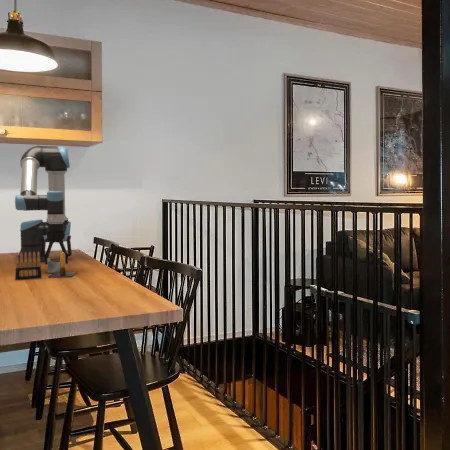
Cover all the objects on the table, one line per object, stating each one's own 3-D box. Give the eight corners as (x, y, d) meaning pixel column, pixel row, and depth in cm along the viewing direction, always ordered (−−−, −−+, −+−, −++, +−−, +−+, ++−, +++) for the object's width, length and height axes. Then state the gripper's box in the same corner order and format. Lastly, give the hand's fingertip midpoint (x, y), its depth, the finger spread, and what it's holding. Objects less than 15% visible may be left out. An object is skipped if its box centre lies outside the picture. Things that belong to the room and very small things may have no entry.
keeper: (54, 273, 224) (54, 250, 223) (76, 273, 225) (76, 250, 224) (48, 277, 212) (47, 253, 211) (71, 277, 213) (70, 253, 212)
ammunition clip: (15, 279, 207) (14, 252, 206) (15, 279, 209) (14, 252, 208) (41, 277, 212) (40, 251, 211) (41, 277, 213) (40, 250, 213)
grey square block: (51, 270, 231) (51, 260, 230) (65, 270, 231) (65, 260, 231) (48, 272, 224) (48, 262, 224) (62, 272, 225) (62, 262, 225)
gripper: (32, 223, 221) (33, 272, 223) (75, 223, 224) (76, 271, 225) (36, 222, 229) (38, 270, 230) (78, 222, 231) (79, 269, 233)
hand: (56, 270), depth 228 cm, fingers closed on grey square block, 6 cm apart
